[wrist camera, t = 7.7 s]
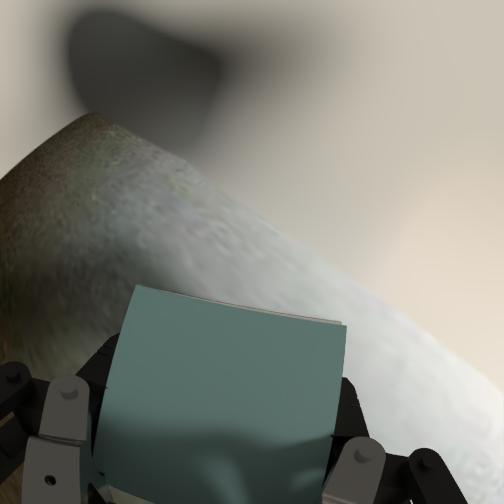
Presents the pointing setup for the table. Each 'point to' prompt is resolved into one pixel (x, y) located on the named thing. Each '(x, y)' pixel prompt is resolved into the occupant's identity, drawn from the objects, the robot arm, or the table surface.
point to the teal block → (218, 403)
